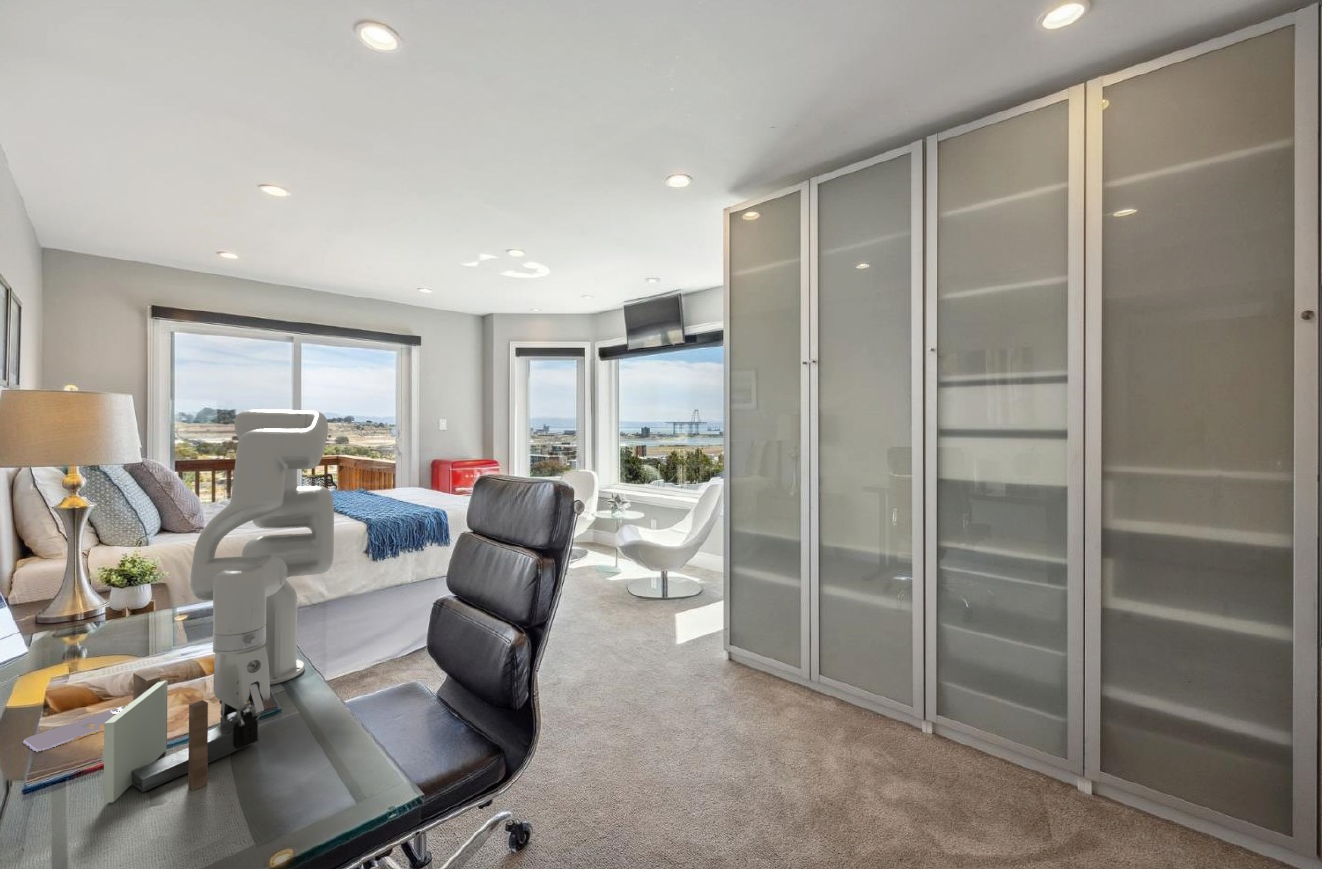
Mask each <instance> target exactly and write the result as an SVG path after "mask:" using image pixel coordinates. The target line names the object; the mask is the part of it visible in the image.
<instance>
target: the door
mask: <svg viewBox="0 0 1322 869" xmlns="http://www.w3.org/2000/svg"><path fill="white" fill-rule="evenodd" d="M168 683H169V682H168V680H160V682H158V683H156V684H155V685H154V686H152V687H151V688H150V689H148V690H147V691H146V692H144V693H143V694H142V695H141V696H139V697H138V698H137V699H135V700H134V701H132V702H130V703H129V704H127V705H128V706H127V705H125V706H126V707H125V708H124V709H122V710H121V711H120V712H118V713H117V714H116V715H114V716H113V717H112V718H111V719H109V720H108V721H107V722H105V723H104V732H103V752H102V754H101V756H100V760H101V762H102V763H103V804H106V803H107V804H108V803H114V802H115V801H116V800H117V799H118V798H119V797H120V796H121V795H122V794H124V792H125V791H126V790H127V789H129V787H130V786H132V785H133V784H132V771H133V770H135V769H138V768H140V767H143V766H145V765H147V764H150V763H152V762H155V761H157V760H159V758H160V757H161V756H162V755H163V754H164V753H165V752H166V750H167V748H168Z"/></svg>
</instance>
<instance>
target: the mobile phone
mask: <svg viewBox="0 0 1322 869" xmlns="http://www.w3.org/2000/svg"><path fill="white" fill-rule="evenodd" d="M126 706H127V705H123V706H121V707H117V708H114V709H111V710H108V711H104V712H101V713H98V714H95V715H93V716H89V717H86V718H83V719H80V720H77V721H74V722H73V721H72V722H71V723H68V724H63V725H62V726H58V727H54V728H52V729H49V730H46V731H43V732H40V733H37V734H34V735H31V736H28V737H26V738H25V739H24V740H23V741H22V743H23V744H24V745H25V746H26V747H28V748H29V749H30V750H31V749H32V750H31V751H33V752H34V751H36V752H35V753H39V752H38V751H41V750H45V749H49V750H51V749H50V748H52V747H55V748H57V747H56V746H58V745H60V744H62V743H65V742H68V741H70V740H73V739H74V738H76V737H78V736H83V735H86V734H88V733H91V732H94V731H98V730H100V729H101V728H100V725H99V724H104V723H105V722H107V721H108V720H109V719H111V718H112V717H113V714H117V713H118V712H119V711H121V710H122V709H124V708H125V707H126ZM116 711H118V712H116ZM88 724H95V726H93V727H94V729H90V728H89V727H91V726H90V725H88ZM58 747H59V746H58ZM52 749H53V748H52Z"/></svg>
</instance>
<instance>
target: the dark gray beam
mask: <svg viewBox="0 0 1322 869" xmlns="http://www.w3.org/2000/svg"><path fill="white" fill-rule="evenodd" d="M250 710H251V708H249V709H246V710H243V711H244V715H245V714H246V713H247V712H249V711H250ZM237 725H238V719H237V711H235V712H233V713H230V714H228V715H225V716H221V717H220V725H219V726H216V727H214V728H212V729H208V758H207V764H210V763H211V762H214V761H216V760H218V759H221V758H223V757H225V756H227V755H229V754H232V753H233V752H237V751H239V750H241V749H244V748H245V747H248V746H250V745H253V744H254V743H256V742H259V733H258V732H259V719H258V720H257V741H256V742H254V743H251V744H249V745H247V746H244V747H242V748H240V749H237V748H235V726H237ZM188 764H189V746H188V747H186V748H184V749H181V750H179V751H177V752H175V753H172V754H169V755H167V756H165V757H162V758H160V759H159V758H158V759H157V760H156V761H155V762H152V763H150V764H147V765H145V766H143V767H140V768H138V769H135V770H133V771H132V784H131V785H133V786H135V787H136V788H137V789H138V790H139V791H140V792H142V793H144V792H146V791H149V790H151V789H154V788H155V787H158V786H160V785H163V784H164V783H167V782H169V781H171V780H174V779H176V778H178V777H181V776H182V775H185V774H188Z"/></svg>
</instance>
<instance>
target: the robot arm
mask: <svg viewBox="0 0 1322 869" xmlns="http://www.w3.org/2000/svg"><path fill="white" fill-rule="evenodd" d="M234 430H235V434H236V437H237V439H238V442H237V446H236V454H235V462H234V471H233V479H232V486H231V487H232V488H231V497H230V501H229V503H228V504H227V505H226V506H225V508H223V509H221V510H220V512H218V513H216V515H215V516H214V517H212V518H211V520H209V522H208V523H207V524H206V526H205V527H204V528H203V529H202V531H201V532H200V535H199V537H198V538H197V540H196V543H195V546H194V550H193V551H194V552H193V557H192V563H191V564H192V565H191V571H190V572H191V573H190V584H189V585H190V590H191V594H192V595H193V596H194V597H195V598H196V599H198V600H201V601H206V602H207V601H213V602H212V606H213V607H212V651H213V652H212V653H214V655H215V656H214V665H213V695H214V696H215V698H216V699H217V700H219V704H220V711H219V712H220V716H221V717H222V716H225V715H228V714H230V713H233V712H235V711H237V719H238V725H237V726H235V748H237V749H239V750H241V749H243V748H245V747H244V746H246V747H248V746H250V745H252V744H254V742H255V743H256V741H257V720H258V721H259V719H260V715H261V714H262V713H264V712H265V707H264V704H263V702H267V701H269V699H270V696H271V694H270V693H271V685H276V684H281V683H284V682H287V681H289V680H291V679H294V678H296V677H297V676H299V675H300V674H302V673H303V672H304V670H305V662H303V661H302V660H301V659H298V658H297V657H298V656H297V654H298V652H297V651H298V650H297V649H298V648H297V647H298V645H297V644H298V643H297V642H298V636H297V635H298V631H297V630H298V595H297V594H298V593H297V592H296V589H295V587H293V585H292V584H291V583H290V582H289V581H288V580H287V578H291V577H292V578H293V577H300V576H303V577H304V576H317V575H321V574H324V573H327V572H328V571H329V570H330V569H331V568H332V566H333V563H334V552H335V551H334V548H335V547H334V546H335V545H334V544H335V542H334V540H335V534H334V533H335V531H334V530H335V527H334V526H335V505H334V502H335V501H334V498H333V494H332V492H331V490H329V488H327V487H325V486H319V485H303V486H301V485H298V470H312V469H315V468H316V467H318V466H319V465H320V462H321V460H323V456H324V451H325V447H326V443H327V439H328V436H329V434H328V433H329V423H328V419H327V418H326V416H325V414H324V413H322V412H320V411H317V410H304V409H301V410H298V409H295V410H294V409H275V408H273V409H272V408H271V409H268V408H267V409H266V408H262V409H261V408H260V409H259V408H257V409H248V410H244V411H241V412H239V413H238V414H237V415H236V416H235V418H234ZM249 522H252V523H253V524H254V526H255V527H257V528H259V529H264V530H265V529H267V530H277V529H278V530H281V529H300V528H301V529H302V528H306V529H307V528H308V529H309V530H310V531H311V533H284V534H271V535H263V536H256V537H255V538H252V539H250V540H249V541H247V542H246V543H245V544H244V546H243V548H242V552H241V556H229V557H216V551H217V548H218V546H219V545H220V543H221V541H222V540H223V539H224V538H225V537H226V536H227V535H228V534H229V533H230V532H232V531H233V530H235V529H237V528H238V527H241V526H242V525H244V524H247V523H249ZM247 702H249V703H247ZM246 709H250V711H249V712H247V713H246V714H245V715H244V711H243V710H246ZM257 742H258V741H257ZM251 743H252V744H251ZM249 744H250V745H249ZM247 745H248V746H247ZM242 747H243V748H242ZM240 748H241V749H240Z"/></svg>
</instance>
